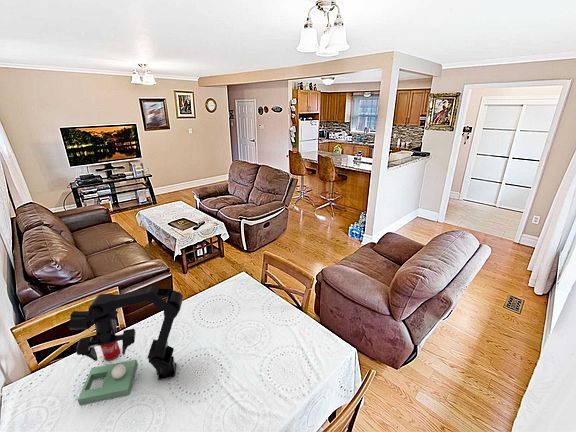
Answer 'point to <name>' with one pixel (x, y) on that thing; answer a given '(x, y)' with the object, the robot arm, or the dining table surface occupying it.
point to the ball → (118, 371)
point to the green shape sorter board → (108, 383)
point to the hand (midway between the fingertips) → (110, 357)
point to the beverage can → (110, 350)
